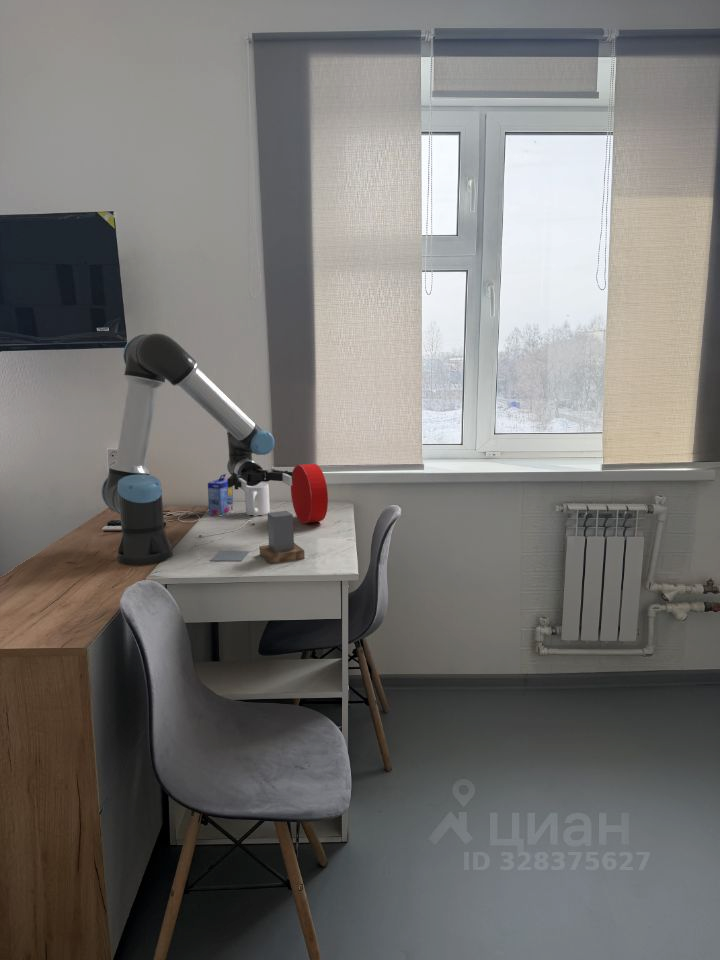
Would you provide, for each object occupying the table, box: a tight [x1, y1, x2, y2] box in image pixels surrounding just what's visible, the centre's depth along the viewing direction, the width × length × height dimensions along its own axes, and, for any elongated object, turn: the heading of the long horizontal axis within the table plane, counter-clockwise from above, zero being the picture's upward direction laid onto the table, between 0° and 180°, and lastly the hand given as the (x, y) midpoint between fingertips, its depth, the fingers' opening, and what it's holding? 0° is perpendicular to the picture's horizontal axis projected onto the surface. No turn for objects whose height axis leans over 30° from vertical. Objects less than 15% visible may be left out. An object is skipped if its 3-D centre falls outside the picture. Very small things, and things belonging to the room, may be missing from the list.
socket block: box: [259, 542, 306, 565], centre depth 188 cm, size 10×10×3 cm
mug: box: [244, 482, 271, 517], centre depth 240 cm, size 9×12×11 cm
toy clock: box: [290, 463, 329, 524], centre depth 228 cm, size 20×6×20 cm, turn 25°
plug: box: [266, 510, 295, 552], centre depth 187 cm, size 6×6×12 cm
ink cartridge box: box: [207, 473, 234, 516], centre depth 244 cm, size 10×6×14 cm, turn 163°
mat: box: [209, 550, 250, 562], centre depth 190 cm, size 9×9×1 cm
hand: (268, 483), depth 193 cm, fingers open, 13 cm apart
